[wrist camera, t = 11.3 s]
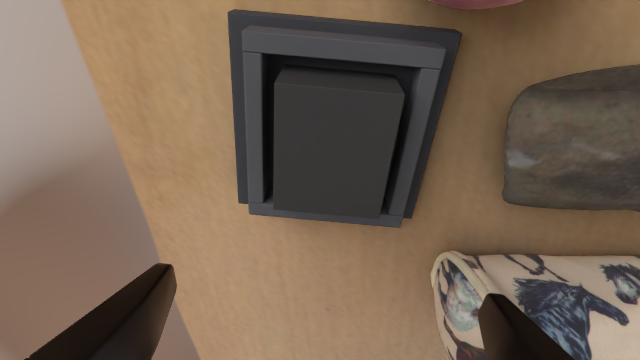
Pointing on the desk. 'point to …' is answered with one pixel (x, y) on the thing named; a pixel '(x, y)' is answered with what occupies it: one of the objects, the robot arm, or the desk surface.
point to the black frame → (347, 54)
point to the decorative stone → (576, 142)
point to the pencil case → (543, 301)
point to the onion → (474, 3)
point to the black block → (334, 139)
